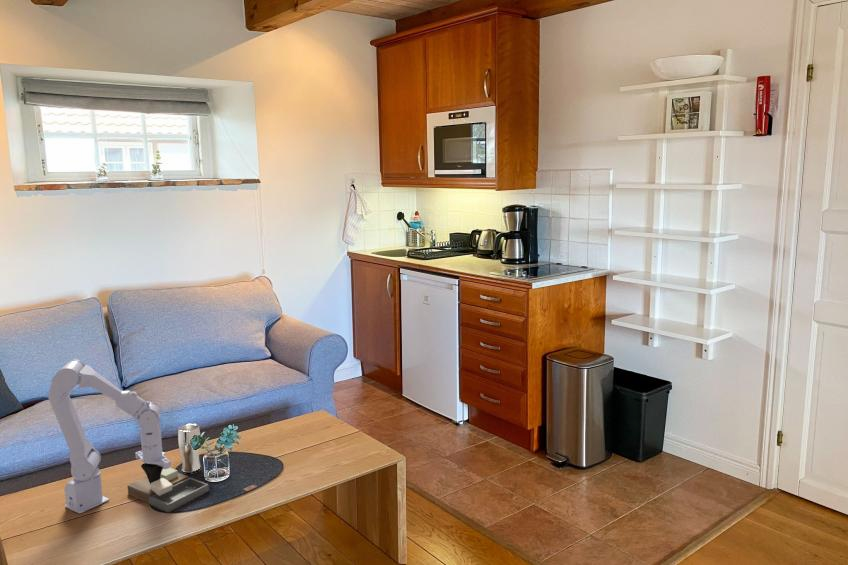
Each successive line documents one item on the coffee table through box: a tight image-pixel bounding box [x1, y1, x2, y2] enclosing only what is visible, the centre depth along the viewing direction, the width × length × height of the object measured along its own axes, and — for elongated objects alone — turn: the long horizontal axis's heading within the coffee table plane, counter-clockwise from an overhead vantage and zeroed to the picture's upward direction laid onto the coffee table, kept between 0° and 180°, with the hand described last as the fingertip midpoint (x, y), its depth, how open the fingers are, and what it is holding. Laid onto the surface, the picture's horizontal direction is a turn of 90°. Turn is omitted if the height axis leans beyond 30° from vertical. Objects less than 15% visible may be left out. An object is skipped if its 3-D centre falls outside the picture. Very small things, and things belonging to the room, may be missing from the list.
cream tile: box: [150, 478, 173, 496], centre depth 200 cm, size 4×4×2 cm
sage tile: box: [160, 467, 179, 481], centre depth 208 cm, size 4×4×2 cm
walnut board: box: [127, 472, 189, 504], centre depth 206 cm, size 14×11×3 cm
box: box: [148, 477, 210, 513], centre depth 200 cm, size 15×9×2 cm, turn 148°
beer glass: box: [177, 423, 202, 473], centre depth 218 cm, size 7×7×15 cm
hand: (154, 484), depth 202 cm, fingers closed
